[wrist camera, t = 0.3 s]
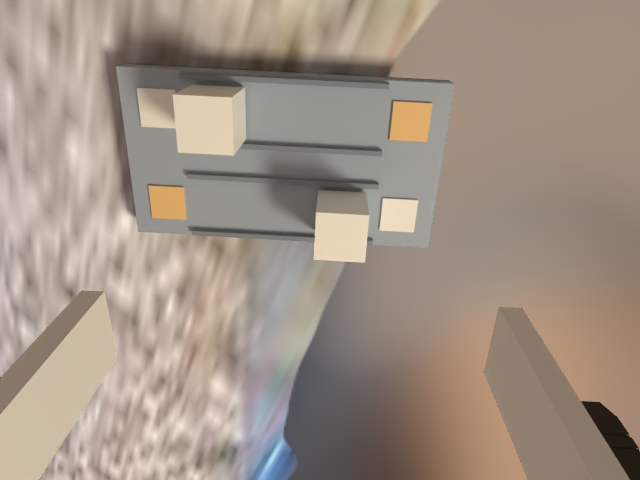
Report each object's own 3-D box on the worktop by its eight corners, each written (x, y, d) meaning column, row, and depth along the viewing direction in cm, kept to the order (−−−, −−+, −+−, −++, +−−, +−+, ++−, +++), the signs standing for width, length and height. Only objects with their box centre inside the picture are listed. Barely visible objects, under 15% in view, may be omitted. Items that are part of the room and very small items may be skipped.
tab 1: (193, 84, 36) (172, 94, 32) (245, 87, 36) (231, 97, 32) (196, 136, 38) (177, 152, 33) (246, 138, 38) (233, 155, 33)
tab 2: (318, 189, 39) (315, 212, 35) (365, 192, 39) (369, 215, 35) (316, 232, 41) (313, 259, 37) (361, 235, 41) (364, 262, 37)
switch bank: (126, 63, 38) (112, 67, 36) (449, 80, 37) (456, 84, 35) (146, 222, 44) (136, 234, 42) (424, 238, 44) (429, 250, 41)
